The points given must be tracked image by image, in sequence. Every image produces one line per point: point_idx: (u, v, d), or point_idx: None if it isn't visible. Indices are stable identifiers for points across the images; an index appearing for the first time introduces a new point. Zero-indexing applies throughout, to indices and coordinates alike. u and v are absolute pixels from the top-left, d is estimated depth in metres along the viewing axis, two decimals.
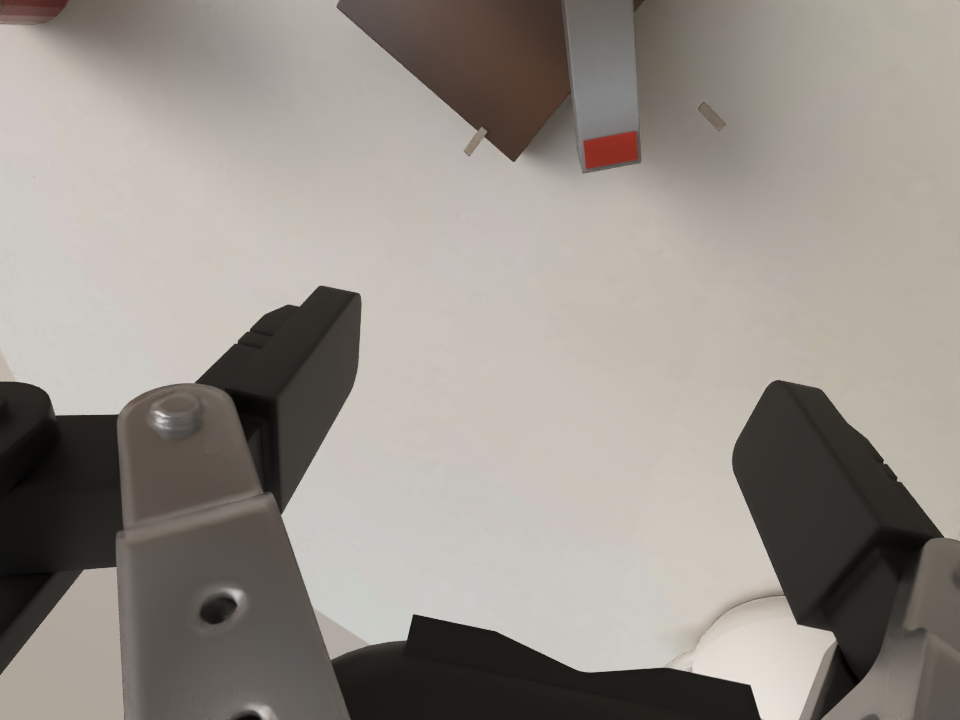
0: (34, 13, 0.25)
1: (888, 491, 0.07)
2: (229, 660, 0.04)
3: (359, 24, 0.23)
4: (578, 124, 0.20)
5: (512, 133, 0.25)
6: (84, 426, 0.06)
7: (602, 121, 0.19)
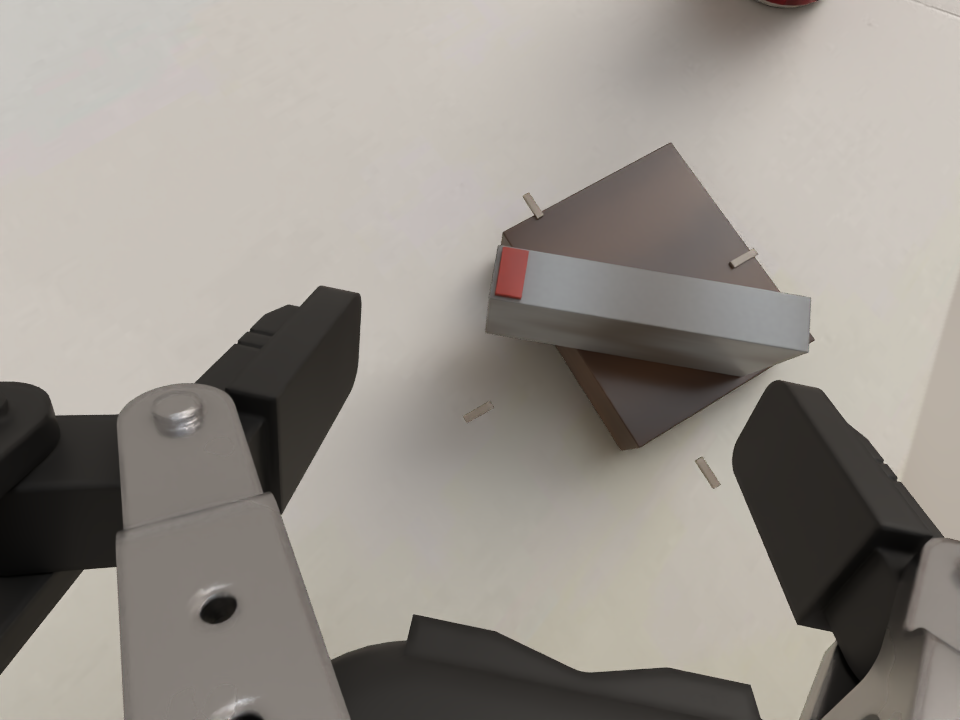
0: None
1: (888, 491, 0.07)
2: (229, 660, 0.04)
3: (653, 153, 0.27)
4: (543, 253, 0.20)
5: (528, 239, 0.26)
6: (84, 426, 0.06)
7: (538, 273, 0.20)
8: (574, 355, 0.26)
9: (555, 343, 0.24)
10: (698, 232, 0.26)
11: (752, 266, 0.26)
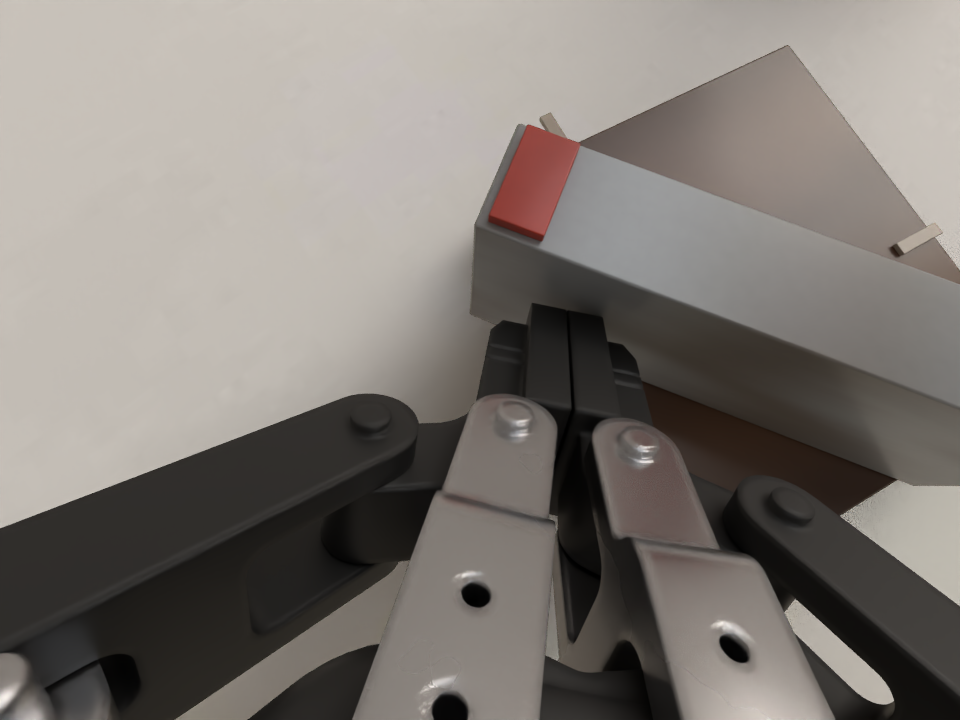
0: None
1: (605, 388, 0.08)
2: (465, 642, 0.04)
3: (759, 60, 0.16)
4: (610, 157, 0.10)
5: None
6: (419, 433, 0.07)
7: (591, 195, 0.09)
8: None
9: None
10: (838, 191, 0.15)
11: (932, 253, 0.15)
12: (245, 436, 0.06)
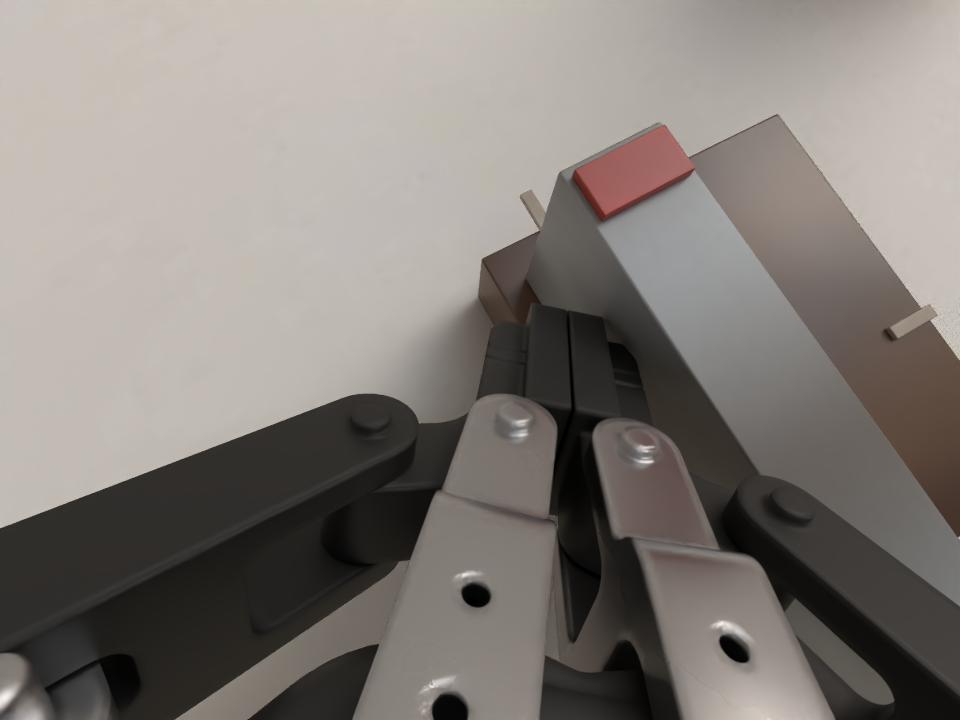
0: None
1: (605, 388, 0.08)
2: (466, 642, 0.04)
3: (748, 131, 0.16)
4: (713, 199, 0.09)
5: None
6: (419, 433, 0.07)
7: (672, 216, 0.09)
8: None
9: None
10: (830, 271, 0.15)
11: (927, 336, 0.14)
12: (245, 436, 0.06)
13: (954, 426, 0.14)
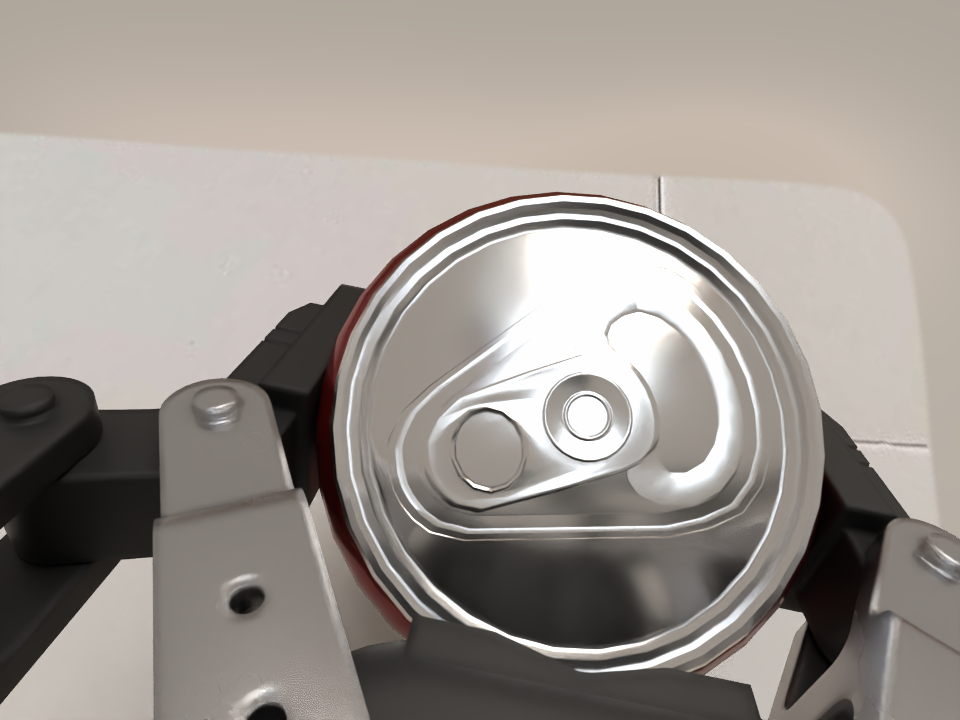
0: None
1: (856, 474, 0.08)
2: (256, 650, 0.04)
3: None
4: None
5: None
6: (123, 420, 0.07)
7: None
8: None
9: None
10: None
11: None
12: None
13: None
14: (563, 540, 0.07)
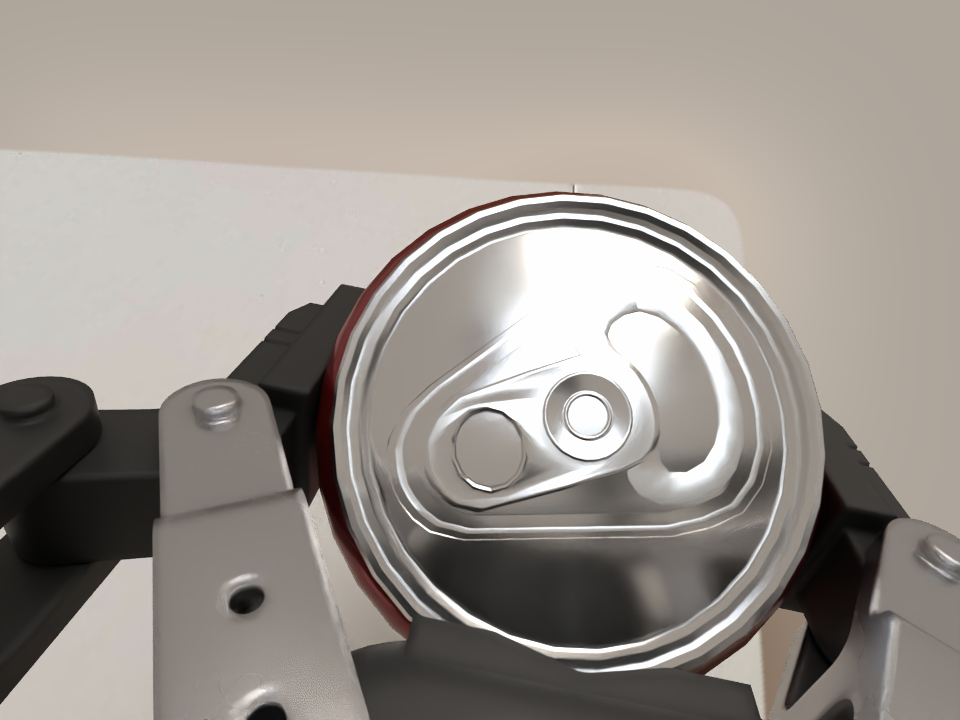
0: None
1: (857, 474, 0.08)
2: (255, 651, 0.04)
3: None
4: None
5: None
6: (123, 420, 0.07)
7: None
8: None
9: None
10: None
11: None
12: None
13: None
14: (563, 539, 0.07)
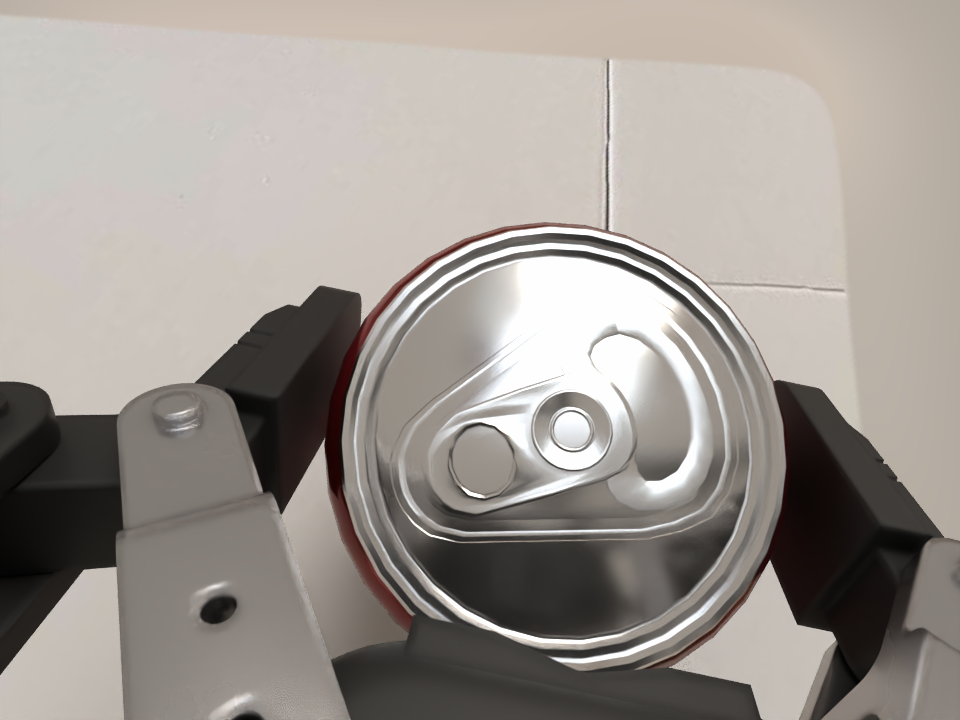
0: None
1: (888, 491, 0.07)
2: (229, 660, 0.04)
3: None
4: None
5: None
6: (84, 426, 0.06)
7: None
8: None
9: None
10: None
11: None
12: None
13: None
14: (549, 542, 0.08)
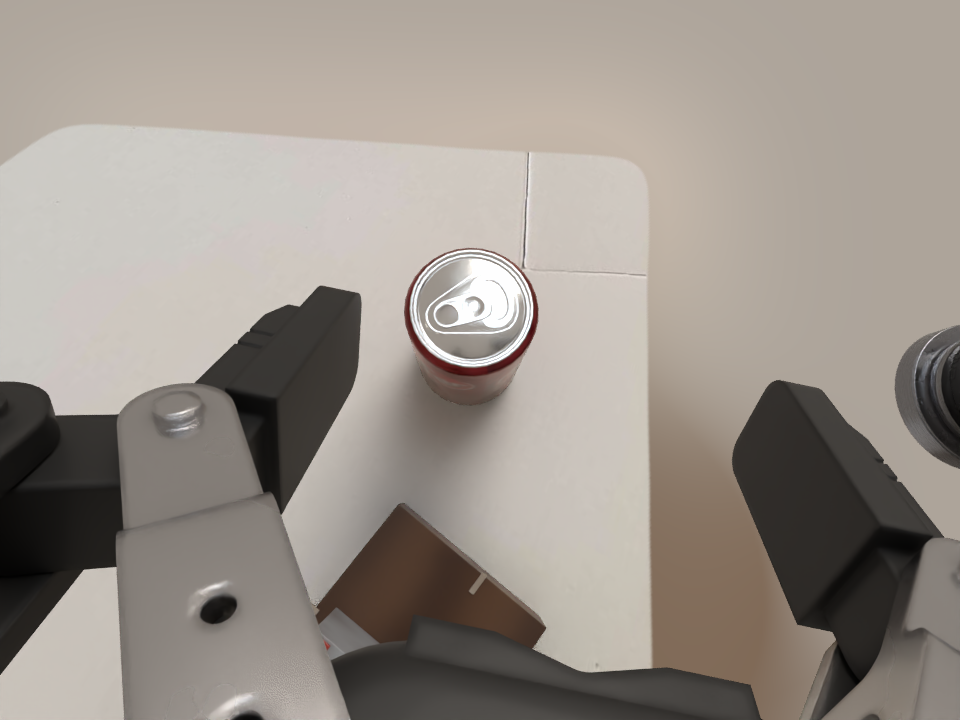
0: (423, 375, 0.37)
1: (888, 491, 0.07)
2: (229, 660, 0.04)
3: (388, 519, 0.34)
4: (340, 650, 0.28)
5: None
6: (84, 426, 0.06)
7: None
8: None
9: None
10: (439, 573, 0.34)
11: (486, 586, 0.34)
12: None
13: (505, 622, 0.33)
14: (466, 335, 0.28)
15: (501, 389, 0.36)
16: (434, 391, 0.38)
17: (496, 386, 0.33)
